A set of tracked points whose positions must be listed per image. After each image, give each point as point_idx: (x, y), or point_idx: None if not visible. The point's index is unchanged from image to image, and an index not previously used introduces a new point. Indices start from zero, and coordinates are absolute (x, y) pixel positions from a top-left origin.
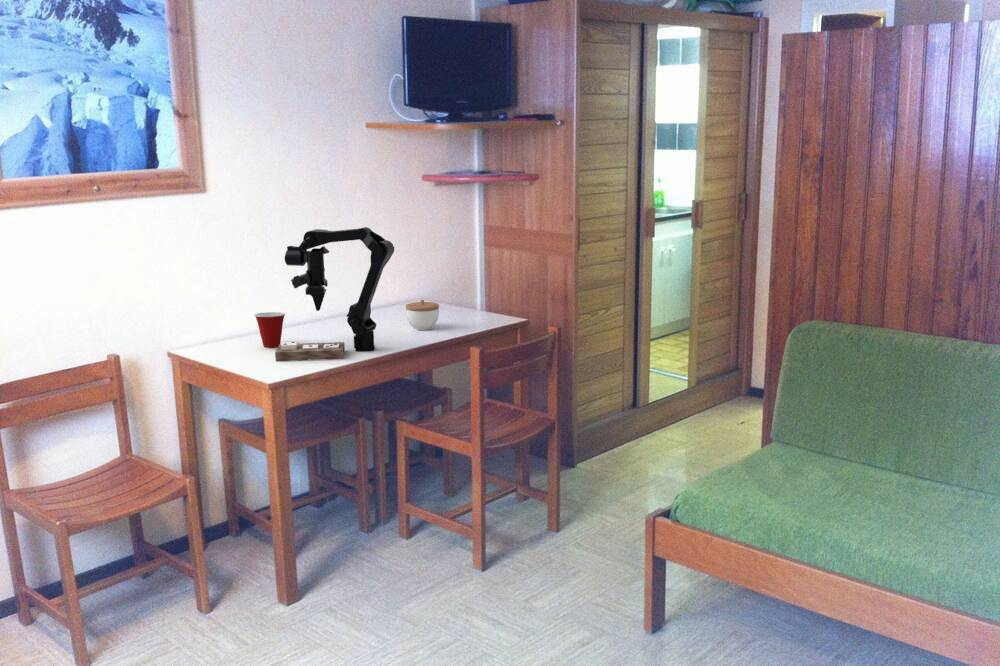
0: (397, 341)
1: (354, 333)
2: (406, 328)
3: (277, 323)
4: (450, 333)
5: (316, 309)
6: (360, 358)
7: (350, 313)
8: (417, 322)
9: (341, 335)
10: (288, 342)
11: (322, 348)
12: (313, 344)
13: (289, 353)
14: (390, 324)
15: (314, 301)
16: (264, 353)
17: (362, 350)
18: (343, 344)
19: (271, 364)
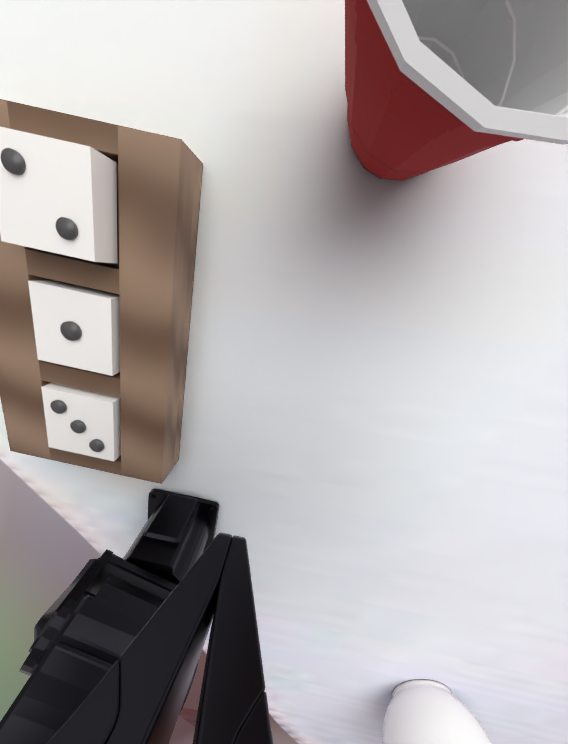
0: (269, 611)
1: (104, 553)
2: (446, 669)
3: (356, 42)
4: (318, 714)
5: (211, 546)
6: (52, 480)
7: (22, 689)
8: (395, 721)
9: (462, 497)
10: (74, 194)
11: (45, 380)
12: (111, 351)
13: None
14: (544, 655)
15: (103, 685)
16: (211, 48)
17: (149, 508)
18: (116, 472)
19: None
